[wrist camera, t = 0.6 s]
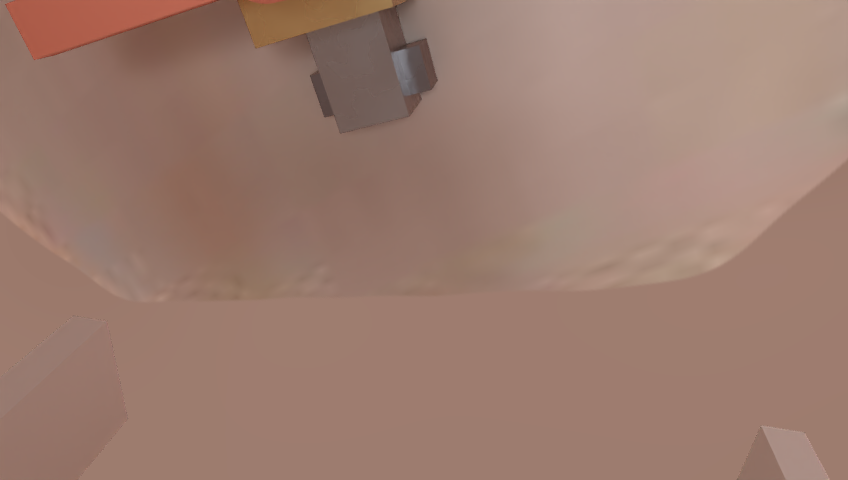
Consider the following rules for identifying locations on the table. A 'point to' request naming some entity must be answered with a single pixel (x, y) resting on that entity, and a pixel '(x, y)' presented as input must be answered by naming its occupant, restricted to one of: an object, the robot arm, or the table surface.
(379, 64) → the valve
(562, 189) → the table surface
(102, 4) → the lever
